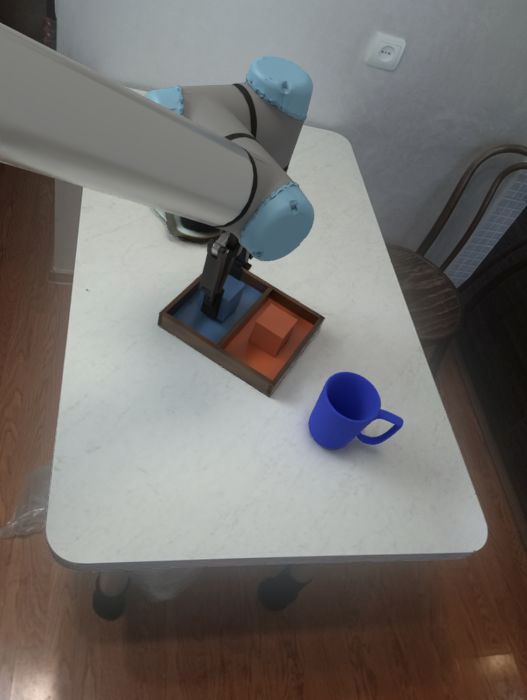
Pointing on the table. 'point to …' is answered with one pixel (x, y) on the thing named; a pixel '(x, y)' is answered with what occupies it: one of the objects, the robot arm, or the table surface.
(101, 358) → the table surface
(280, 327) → the terracotta block
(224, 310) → the blue block
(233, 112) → the robot arm
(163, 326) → the tray
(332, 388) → the mug
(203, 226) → the salad plate
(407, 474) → the table surface
